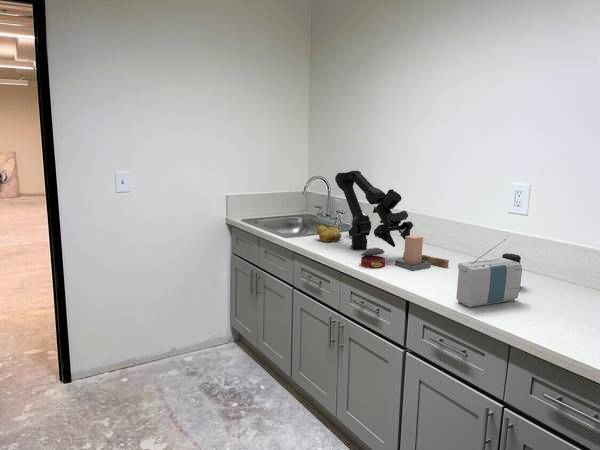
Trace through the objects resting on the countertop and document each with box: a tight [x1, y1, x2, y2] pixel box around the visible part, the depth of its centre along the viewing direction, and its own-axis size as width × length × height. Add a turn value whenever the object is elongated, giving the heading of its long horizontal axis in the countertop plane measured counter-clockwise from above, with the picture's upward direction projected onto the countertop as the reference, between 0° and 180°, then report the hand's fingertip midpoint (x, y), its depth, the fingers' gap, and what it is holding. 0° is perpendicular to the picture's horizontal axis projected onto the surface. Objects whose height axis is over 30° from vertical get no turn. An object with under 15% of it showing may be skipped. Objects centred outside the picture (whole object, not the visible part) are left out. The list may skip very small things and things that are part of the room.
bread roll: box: [316, 224, 342, 243], centre depth 239 cm, size 13×10×8 cm
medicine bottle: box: [501, 252, 523, 285], centre depth 170 cm, size 7×7×12 cm
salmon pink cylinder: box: [403, 234, 424, 265], centre depth 194 cm, size 5×5×12 cm
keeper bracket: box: [393, 259, 432, 271], centre depth 195 cm, size 10×10×2 cm
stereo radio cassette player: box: [456, 238, 523, 308], centre depth 153 cm, size 21×8×20 cm, turn 114°
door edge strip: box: [402, 254, 450, 269], centre depth 201 cm, size 20×2×3 cm, turn 47°
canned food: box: [360, 247, 386, 269], centre depth 195 cm, size 11×10×10 cm
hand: (402, 245), depth 199 cm, fingers open, 9 cm apart
